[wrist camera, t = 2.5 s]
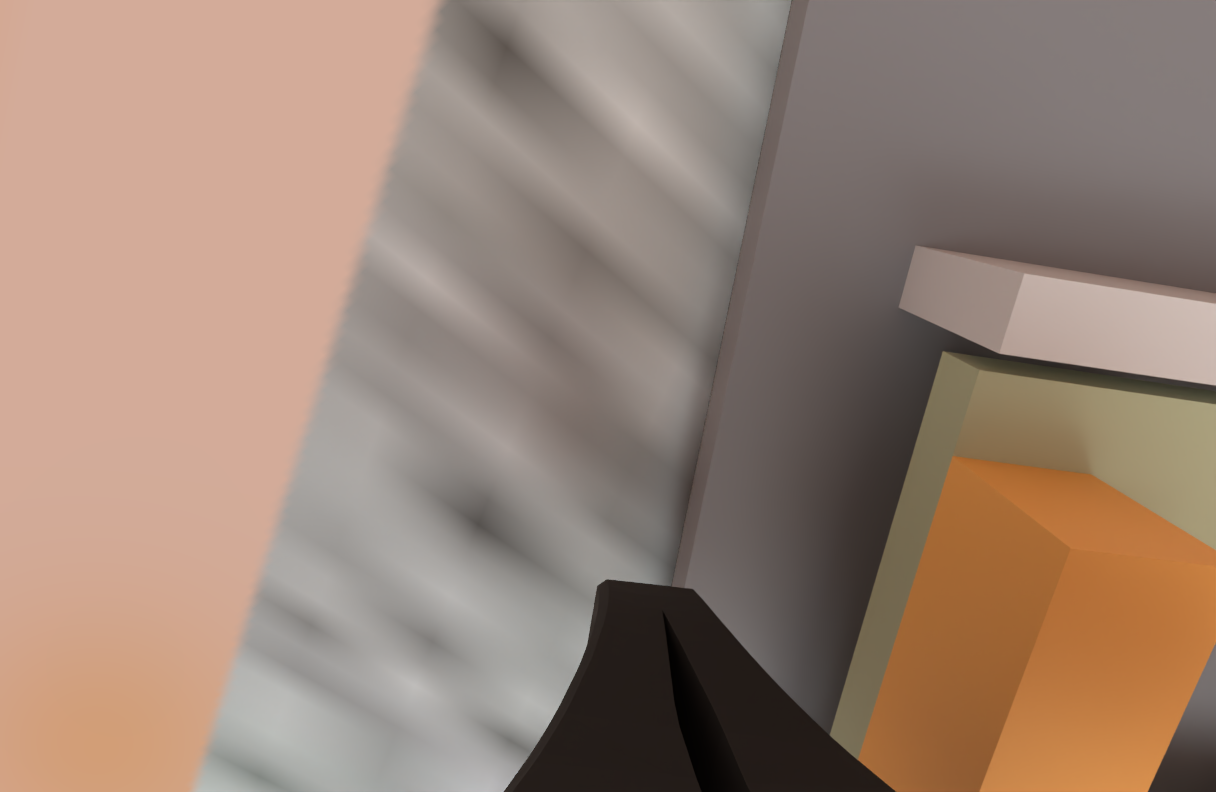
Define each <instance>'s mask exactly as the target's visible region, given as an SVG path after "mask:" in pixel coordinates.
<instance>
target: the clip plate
mask: <svg viewBox="0 0 1216 792" xmlns="http://www.w3.org/2000/svg"><path fill="white" fill-rule="evenodd" d="M1215 643H1216V391H1211V390H1205V389H1198V388H1191V387H1184V386H1177V385H1170V384H1164V383H1157V382H1150V381H1143V380H1136V379H1130V378H1123V377H1116V376H1109V375H1102V374H1095V373H1089V372H1082V371H1075V370H1068V369H1061V368H1054V367H1048V366H1041V365H1034V364H1027V363H1020V362H1014V361H1007V360H1000V359H993V358H986V357H979V356H973V355H966V354H959V353H952V352H945V351H943V352H942V356H941V359H940V363H939V366H938V369H937V373H936V376H935V380H934V383H933V386H932V390H931V393H930V396H929V400H928V403H927V407H926V410H925V413H924V417H923V420H922V424H921V427H920V430H919V434H918V437H917V441H916V444H915V447H914V451H913V454H912V458H911V461H910V464H909V468H908V471H907V475H906V478H905V481H904V485H903V488H902V491H901V495H900V498H899V502H898V505H897V508H896V512H895V515H894V519H893V522H892V525H891V529H890V532H889V536H888V539H887V542H886V546H885V549H884V553H883V556H882V559H881V563H880V566H879V570H878V573H877V576H876V580H875V583H874V586H873V590H872V593H871V597H870V600H869V603H868V607H867V610H866V614H865V617H864V620H863V624H862V627H861V631H860V634H859V637H858V641H857V644H856V648H855V651H854V654H853V658H852V661H851V665H850V668H849V671H848V675H847V678H846V681H845V685H844V688H843V692H842V695H841V698H840V702H839V705H838V709H837V712H836V715H835V719H834V722H833V726H832V729H831V732H830V736H831V737H832V738H833V739H834V740H835V741H837V742H838V743H839V744H840V745H841V746H842V747H843V748H844V749H846V750H847V751H848V752H849V753H850V754H851V755H852V756H854V757H855V758H856V759H857V760H859V761H860V762H861V763H862V764H863V765H865V766H866V767H867V768H868V769H869V770H871V771H872V772H873V773H874V774H875V775H877V776H878V777H879V778H880V779H881V780H883V781H884V782H885V783H886V784H887V785H889V786H890V787H891V788H892V789H894V790H895V791H896V792H1148V790H1149V788H1150V785H1151V783H1152V781H1153V779H1154V777H1155V775H1156V772H1157V770H1158V768H1159V766H1160V764H1161V761H1162V759H1163V757H1164V755H1165V753H1166V750H1167V748H1168V746H1169V744H1170V742H1171V740H1172V737H1173V735H1174V733H1175V731H1176V729H1177V726H1178V724H1179V722H1180V720H1181V718H1182V715H1183V713H1184V711H1185V709H1186V707H1187V704H1188V702H1189V700H1190V698H1191V696H1192V694H1193V691H1194V689H1195V687H1196V685H1197V683H1198V680H1199V678H1200V676H1201V674H1202V672H1203V669H1204V667H1205V665H1206V663H1207V661H1208V659H1209V656H1210V654H1211V652H1212V650H1213V648H1214V645H1215Z"/></svg>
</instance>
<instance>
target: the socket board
mask: <svg viewBox="0 0 1216 792" xmlns="http://www.w3.org/2000/svg"><path fill="white" fill-rule="evenodd" d="M943 351H945V352H952V353H959V354H966V355H973V356H979V357H986V358H993V359H1000V360H1007V361H1014V362H1020V363H1027V364H1034V365H1041V366H1048V367H1054V368H1061V369H1068V370H1075V371H1082V372H1089V373H1095V374H1102V375H1109V376H1116V377H1123V378H1130V379H1136V380H1143V381H1150V382H1157V383H1164V384H1170V385H1177V386H1184V387H1191V388H1198V389H1205V390H1211V391H1216V0H792V3H791V8H790V12H789V17H788V22H787V27H786V32H785V37H784V42H783V47H782V51H781V56H780V61H779V66H778V71H777V76H776V81H775V85H774V90H773V95H772V100H771V105H770V110H769V115H768V119H767V124H766V129H765V134H764V139H763V144H762V149H761V153H760V158H759V163H758V168H757V173H756V178H755V183H754V187H753V192H752V197H751V202H750V207H749V212H748V217H747V221H746V226H745V231H744V236H743V241H742V246H741V251H740V256H739V260H738V265H737V270H736V275H735V280H734V285H733V290H732V294H731V299H730V304H729V309H728V314H727V319H726V324H725V328H724V333H723V338H722V343H721V348H720V353H719V358H718V362H717V367H716V372H715V377H714V382H713V387H712V392H711V396H710V401H709V406H708V411H707V416H706V421H705V426H704V430H703V435H702V440H701V445H700V450H699V455H698V460H697V465H696V469H695V474H694V479H693V484H692V489H691V494H690V499H689V503H688V508H687V513H686V518H685V523H684V528H683V533H682V537H681V542H680V547H679V552H678V557H677V562H676V567H675V571H674V576H673V581H672V586H671V587H680V588H689V589H694V590H695V592H696V593H697V594H698V595H699V596H700V597H701V598H702V599H703V600H704V602H705V603H706V604H707V605H708V606H709V607H710V608H711V610H712V611H713V612H714V613H715V614H716V616H717V617H718V618H719V619H720V620H721V621H722V623H723V624H724V625H725V626H726V627H727V628H728V630H729V631H730V632H731V633H732V634H733V635H734V636H735V638H736V639H737V640H738V641H739V642H740V643H741V645H742V646H743V647H744V648H745V649H746V650H747V651H748V652H749V654H750V655H751V656H752V657H753V658H754V659H755V660H756V661H757V662H758V664H759V665H760V666H761V667H762V668H763V669H764V670H765V671H766V672H767V673H768V674H769V675H770V677H771V678H772V679H773V680H774V681H775V682H776V683H777V684H778V685H779V686H780V687H781V688H782V689H783V690H784V691H785V692H786V693H787V694H788V695H789V696H790V697H791V698H792V699H793V700H794V701H795V702H796V703H797V704H798V705H799V706H800V707H801V708H802V709H803V710H804V711H805V712H806V713H807V714H808V715H809V716H810V717H811V718H812V719H813V720H814V721H815V722H816V723H817V724H818V725H819V726H820V727H821V728H823V729H824V730H825V731H826V732H827V733H828V734H829V735H830V732H831V729H832V726H833V722H834V719H835V715H836V712H837V709H838V705H839V702H840V698H841V695H842V692H843V688H844V685H845V681H846V678H847V675H848V671H849V668H850V665H851V661H852V658H853V654H854V651H855V648H856V644H857V641H858V637H859V634H860V631H861V627H862V624H863V620H864V617H865V614H866V610H867V607H868V603H869V600H870V597H871V593H872V590H873V586H874V583H875V580H876V576H877V573H878V570H879V566H880V563H881V559H882V556H883V553H884V549H885V546H886V542H887V539H888V536H889V532H890V529H891V525H892V522H893V519H894V515H895V512H896V508H897V505H898V502H899V498H900V495H901V491H902V488H903V485H904V481H905V478H906V475H907V471H908V468H909V464H910V461H911V458H912V454H913V451H914V447H915V444H916V441H917V437H918V434H919V430H920V427H921V424H922V420H923V417H924V413H925V410H926V407H927V403H928V400H929V396H930V393H931V390H932V386H933V383H934V380H935V376H936V373H937V369H938V366H939V363H940V359H941V356H942V352H943ZM1148 792H1216V643H1215V645H1214V648H1213V650H1212V652H1211V654H1210V656H1209V659H1208V661H1207V663H1206V665H1205V667H1204V669H1203V672H1202V674H1201V676H1200V678H1199V680H1198V683H1197V685H1196V687H1195V689H1194V691H1193V694H1192V696H1191V698H1190V700H1189V702H1188V704H1187V707H1186V709H1185V711H1184V713H1183V715H1182V718H1181V720H1180V722H1179V724H1178V726H1177V729H1176V731H1175V733H1174V735H1173V737H1172V740H1171V742H1170V744H1169V746H1168V748H1167V750H1166V753H1165V755H1164V757H1163V759H1162V761H1161V764H1160V766H1159V768H1158V770H1157V772H1156V775H1155V777H1154V779H1153V781H1152V783H1151V785H1150V788H1149V790H1148Z"/></svg>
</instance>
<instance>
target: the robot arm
mask: <svg viewBox="0 0 1216 792" xmlns="http://www.w3.org/2000/svg"><path fill="white" fill-rule="evenodd" d="M504 792H896V791H895V790H894V789H892V788H891V787H890V786H889V785H887V784H886V783H885V782H884V781H883V780H881V779H880V778H879V777H878V776H877V775H875V774H874V773H873V772H872V771H871V770H869V769H868V768H867V767H866V766H865V765H863V764H862V763H861V762H860V761H859V760H857V759H856V758H855V757H854V756H852V755H851V754H850V753H849V752H848V751H847V750H846V749H844V748H843V747H842V746H841V745H840V744H839V743H838V742H837V741H835V740H834V739H833V738H832V737H831V736H830V735H829V734H828V733H827V732H826V731H825V730H824V729H823V728H821V727H820V726H819V725H818V724H817V723H816V722H815V721H814V720H813V719H812V718H811V717H810V716H809V715H808V714H807V713H806V712H805V711H804V710H803V709H802V708H801V707H800V706H799V705H798V704H797V703H796V702H795V701H794V700H793V699H792V698H791V697H790V696H789V695H788V694H787V693H786V692H785V691H784V690H783V689H782V688H781V687H780V686H779V685H778V684H777V683H776V682H775V681H774V680H773V679H772V678H771V677H770V675H769V674H768V673H767V672H766V671H765V670H764V669H763V668H762V667H761V666H760V665H759V664H758V662H757V661H756V660H755V659H754V658H753V657H752V656H751V655H750V654H749V652H748V651H747V650H746V649H745V648H744V647H743V646H742V645H741V643H740V642H739V641H738V640H737V639H736V638H735V636H734V635H733V634H732V633H731V632H730V631H729V630H728V628H727V627H726V626H725V625H724V624H723V623H722V621H721V620H720V619H719V618H718V617H717V616H716V614H715V613H714V612H713V611H712V610H711V608H710V607H709V606H708V605H707V604H706V603H705V602H704V600H703V599H702V598H701V597H700V596H699V595H698V594H697V593H696V592H695V590H694V589H689V588H680V587H671V586H662V585H652V584H643V583H634V582H625V581H616V580H605V581H604V582H602V583H601V584H600V585H598V586H597V591H596V597H595V603H594V609H593V615H592V621H591V627H590V633H589V638H588V644H587V647H586V650H585V653H584V655H583V658H582V661H581V663H580V665H579V668H578V670H577V672H576V674H575V676H574V678H573V680H572V682H571V684H570V686H569V688H568V690H567V692H566V694H565V696H564V698H563V700H562V702H561V704H560V706H559V708H558V710H557V712H556V713H555V715H554V717H553V719H552V720H551V722H550V724H549V726H548V727H547V729H546V731H545V732H544V734H543V736H542V737H541V739H540V740H539V742H538V743H537V745H536V746H535V748H534V750H533V751H532V753H531V754H530V756H529V757H528V759H527V760H526V762H525V763H524V764H523V766H522V767H521V769H520V770H519V771H518V773H517V774H516V776H515V777H514V778H513V780H512V781H511V782H510V784H509V785H508V787H507V788H506V789H505V791H504Z"/></svg>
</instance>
